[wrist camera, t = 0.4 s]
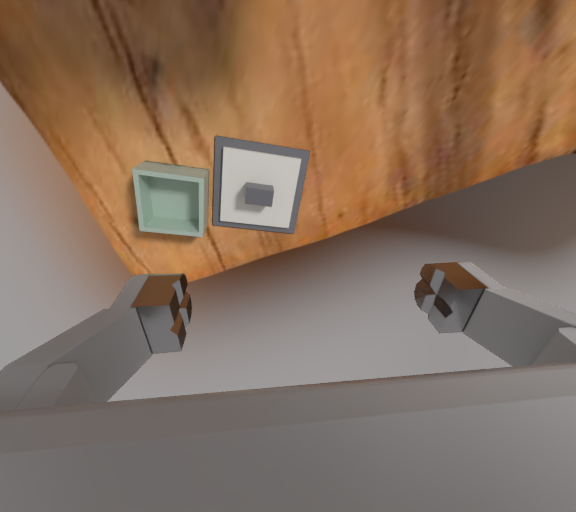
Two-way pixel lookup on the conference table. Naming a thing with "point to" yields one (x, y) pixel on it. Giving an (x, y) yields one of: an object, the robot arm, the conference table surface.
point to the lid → (258, 187)
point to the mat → (263, 148)
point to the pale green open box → (171, 198)
